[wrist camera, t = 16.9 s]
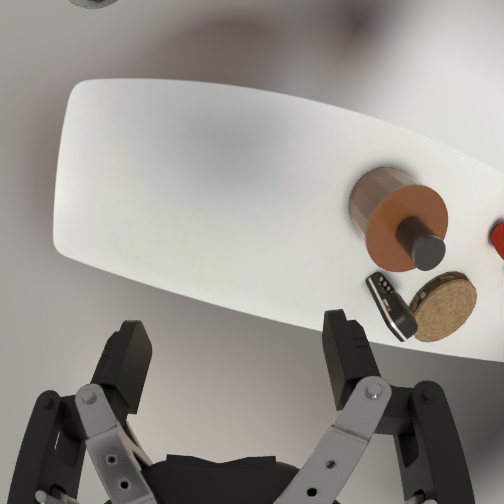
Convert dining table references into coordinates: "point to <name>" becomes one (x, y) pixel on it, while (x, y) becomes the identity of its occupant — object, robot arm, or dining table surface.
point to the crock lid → (407, 229)
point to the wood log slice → (443, 306)
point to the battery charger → (392, 307)
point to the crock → (373, 193)
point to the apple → (498, 239)
